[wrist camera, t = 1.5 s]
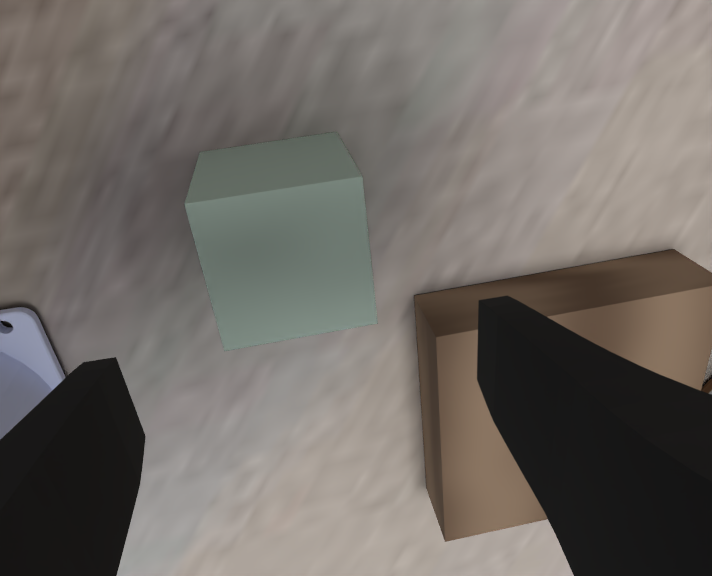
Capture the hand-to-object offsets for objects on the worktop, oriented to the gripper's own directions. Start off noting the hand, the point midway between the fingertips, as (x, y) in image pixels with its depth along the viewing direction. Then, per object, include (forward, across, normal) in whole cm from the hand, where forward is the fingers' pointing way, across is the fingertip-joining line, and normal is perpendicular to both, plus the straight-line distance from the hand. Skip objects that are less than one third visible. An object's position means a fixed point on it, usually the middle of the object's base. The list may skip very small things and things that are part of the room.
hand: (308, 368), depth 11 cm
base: (+10, -10, +10) cm, 17 cm away
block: (+10, 0, 0) cm, 10 cm away
